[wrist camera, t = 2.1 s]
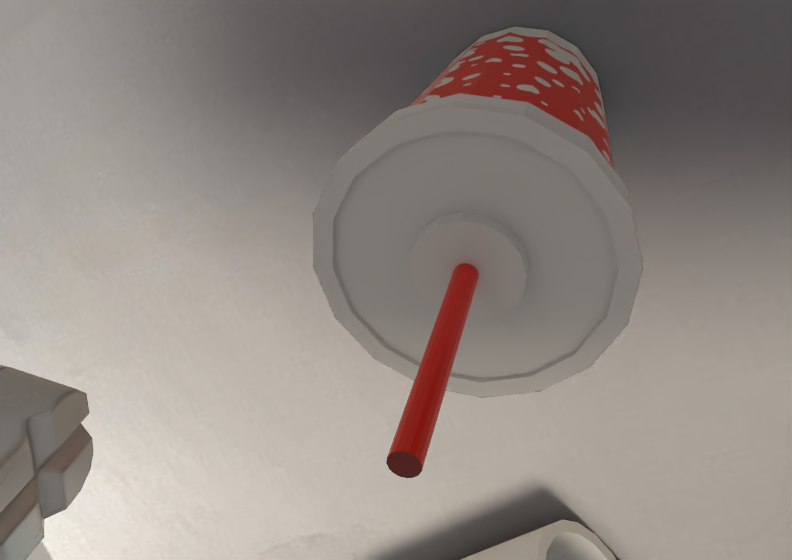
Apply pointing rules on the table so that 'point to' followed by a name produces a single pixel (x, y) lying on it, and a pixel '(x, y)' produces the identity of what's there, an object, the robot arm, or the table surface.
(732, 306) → the table surface
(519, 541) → the mug
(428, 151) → the beverage cup
